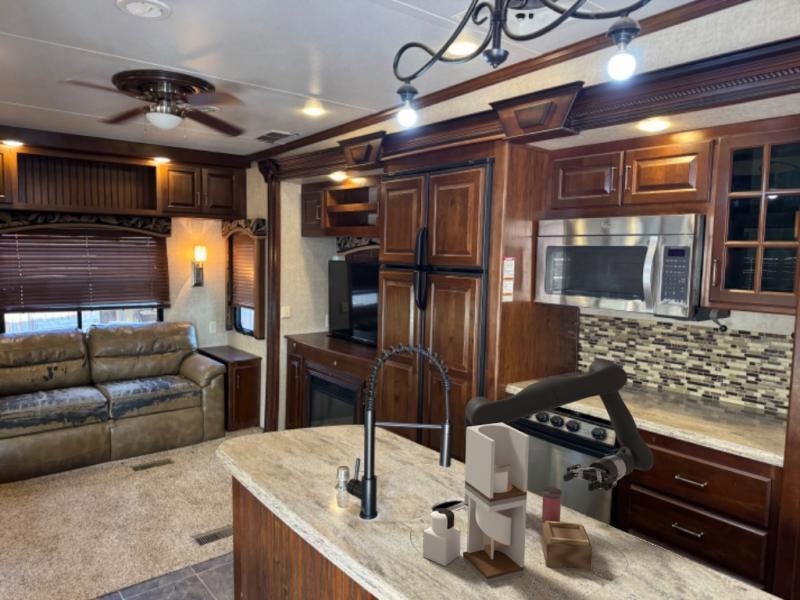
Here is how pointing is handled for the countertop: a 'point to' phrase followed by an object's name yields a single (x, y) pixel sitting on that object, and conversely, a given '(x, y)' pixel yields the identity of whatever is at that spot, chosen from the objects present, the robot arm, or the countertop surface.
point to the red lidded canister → (551, 504)
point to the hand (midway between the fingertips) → (576, 482)
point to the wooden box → (566, 545)
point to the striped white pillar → (496, 500)
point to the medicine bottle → (442, 538)
